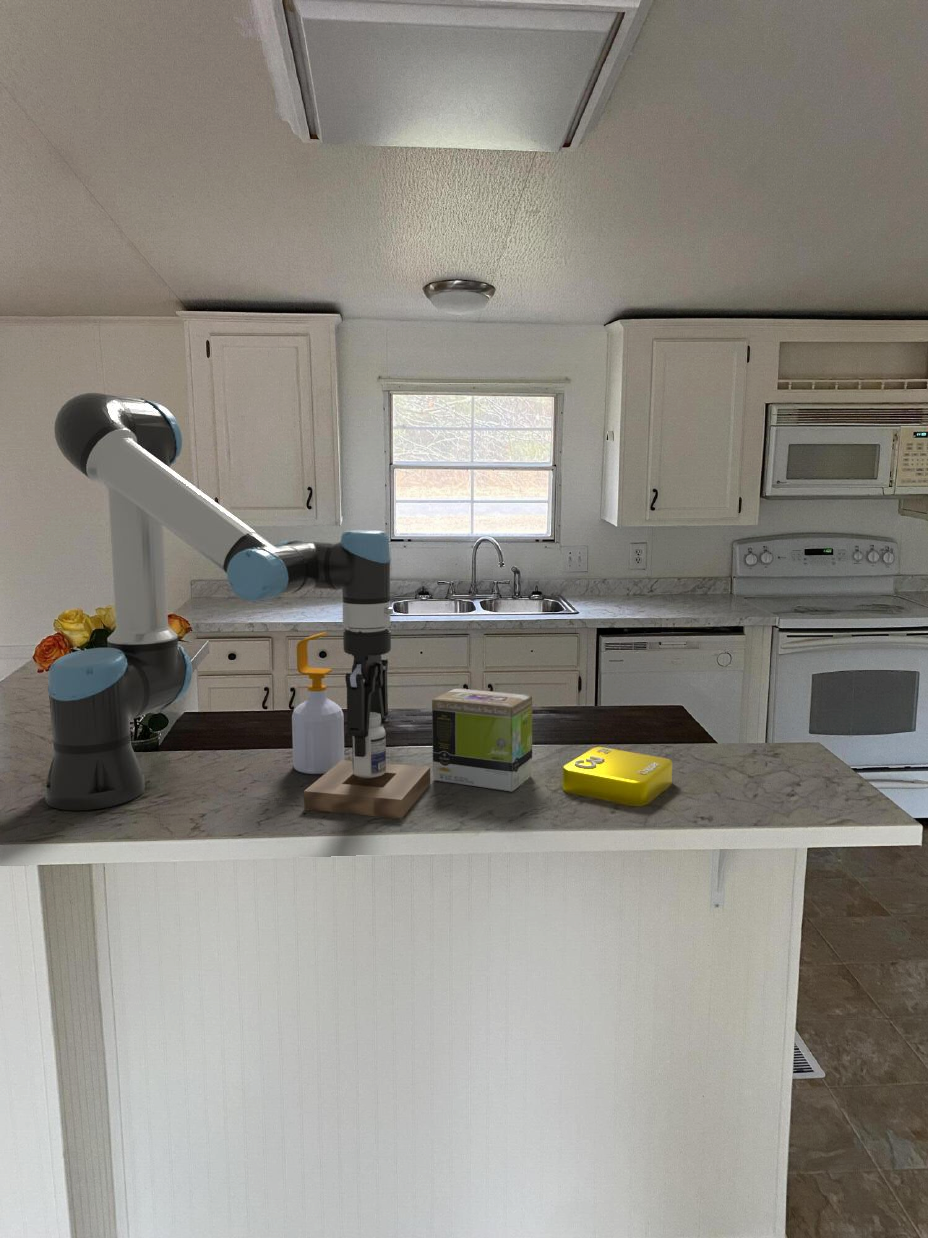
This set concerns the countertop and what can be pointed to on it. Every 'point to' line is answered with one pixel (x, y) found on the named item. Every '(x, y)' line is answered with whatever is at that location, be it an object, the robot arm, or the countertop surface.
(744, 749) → the countertop surface
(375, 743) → the pill bottle
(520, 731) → the tea box
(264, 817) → the countertop surface
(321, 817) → the countertop surface
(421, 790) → the socket block
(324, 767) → the soap bottle
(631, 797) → the element tile
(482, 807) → the countertop surface
